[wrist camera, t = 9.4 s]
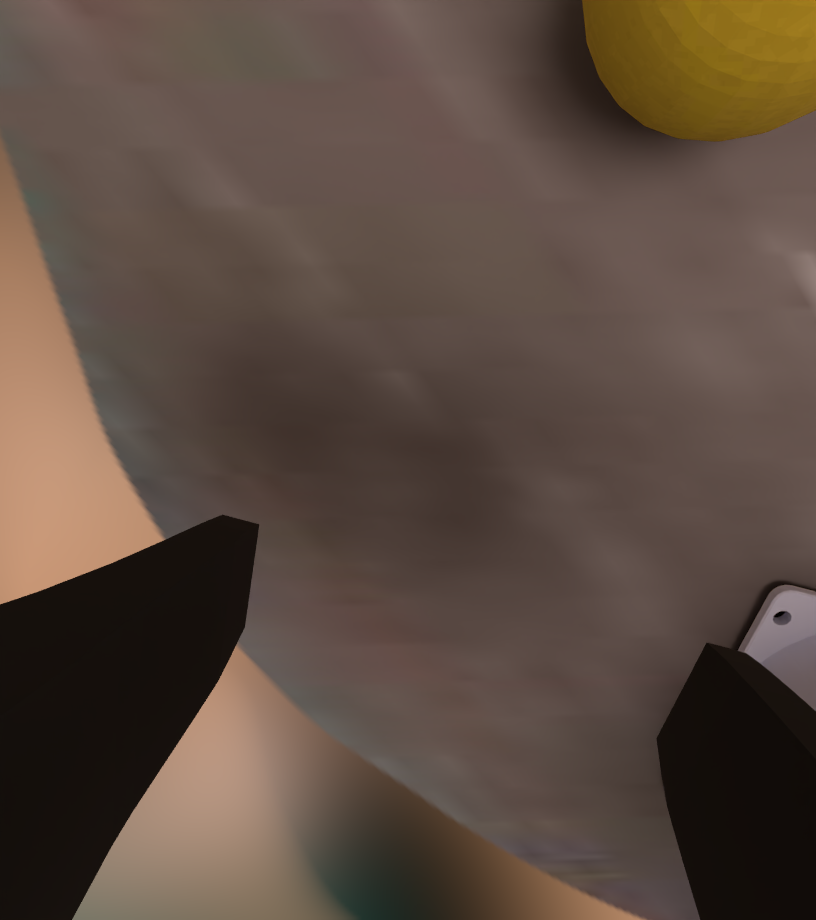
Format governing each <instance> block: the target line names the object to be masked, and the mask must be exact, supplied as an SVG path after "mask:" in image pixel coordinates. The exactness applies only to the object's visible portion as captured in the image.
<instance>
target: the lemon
mask: <svg viewBox="0 0 816 920" xmlns="http://www.w3.org/2000/svg"><path fill="white" fill-rule="evenodd" d="M582 3H583V13H584V22H585V32H586V41H587V45H588V48H589V51H590V53H591V56H592V59H593V62H594V64H595V67H596V70H597V73H598V75H599V78H600V79H601V81H602V82H603V84H604V85H605V87H606V88H607V89H608V91H609V92H610V94H611V95H612V97H613V98H614V99H615V101H616V102H617V104H618V105H619V106H620V107H621V108H622V109H624V110H625V111H626V112H628V113H629V114H630V115H631V116H633V117H634V118H635V119H636V120H638V121H639V122H640V123H641V124H643V125H644V126H646V127H648V128H651V129H654V130H656V131H659V132H662V133H664V134H667V135H669V136H672V137H675V138H678V139H689V140H701V141H714V142H715V141H724V140H730V139H735V138H741V137H746V136H752V135H757V134H762V133H765V132H769V131H771V130H773V129H775V128H777V127H780V126H782V125H784V124H786V123H789V122H791V121H793V120H795V119H798V118H800V117H802V116H804V115H806V114H809V113H811V112H813V111H815V110H816V0H582Z"/></svg>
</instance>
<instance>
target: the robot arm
mask: <svg viewBox="0 0 816 920" xmlns="http://www.w3.org/2000/svg"><path fill="white" fill-rule="evenodd" d="M258 529H259V524H256V523H252V522H248V521H244V520H240V519H237V518H233V517H229V516H225V515H221V516H218V517H216V518H213V519H211V520H208V521H206V522H204V523H201V524H199V525H197V526H195V527H192V528H190V529H188V530H186V531H184V532H181V533H179V534H177V535H175V536H173V537H170V538H168V539H166V540H164V541H162V542H159V543H157V544H155V545H153V546H150V547H148V548H146V549H143V550H141V551H139V552H137V553H134V554H132V555H130V556H128V557H125V558H123V559H121V560H118V561H116V562H114V563H111V564H109V565H106V566H104V567H101V568H98V569H96V570H93V571H91V572H88V573H86V574H83V575H80V576H78V577H75V578H73V579H70V580H67V581H65V582H62V583H60V584H57V585H55V586H52V587H50V588H47V589H44V590H42V591H39V592H36V593H33V594H30V595H27V596H24V597H21V598H19V599H15V600H12V601H10V602H7V603H3V604H0V920H72V919H73V917H74V915H75V913H76V911H77V909H78V907H79V906H80V904H81V902H82V900H83V898H84V896H85V895H86V893H87V891H88V889H89V887H90V885H91V883H92V882H93V880H94V878H95V876H96V874H97V872H98V870H99V869H100V867H101V865H102V863H103V861H104V859H105V857H106V856H107V854H108V852H109V850H110V848H111V846H112V845H113V843H114V841H115V840H116V838H117V837H118V835H119V833H120V831H121V830H122V828H123V827H124V825H125V823H126V822H127V820H128V818H129V817H130V815H131V813H132V812H133V810H134V809H135V807H136V806H137V804H138V803H139V801H140V800H141V798H142V797H143V795H144V794H145V792H146V791H147V789H148V788H149V786H150V784H151V783H152V781H153V780H154V778H155V777H156V775H157V774H158V772H159V771H160V769H161V768H162V766H163V765H164V763H165V761H166V760H167V759H168V757H169V756H170V754H171V753H172V751H173V750H174V748H175V747H176V745H177V744H178V742H179V740H180V739H181V738H182V736H183V735H184V733H185V731H186V730H187V728H188V727H189V725H190V724H191V722H192V721H193V719H194V718H195V716H196V715H197V713H198V712H199V710H200V709H201V707H202V705H203V704H204V702H205V701H206V699H207V698H208V696H209V694H210V693H211V692H212V690H213V688H214V687H215V685H216V684H217V682H218V680H219V678H220V676H221V674H222V672H223V670H224V668H225V666H226V664H227V663H228V660H229V658H230V657H231V655H232V652H233V650H234V648H235V646H236V644H237V642H238V640H239V638H240V636H241V634H242V632H243V630H244V628H245V622H246V615H247V608H248V601H249V594H250V586H251V579H252V572H253V565H254V558H255V551H256V544H257V537H258ZM780 611H785V613H784V614H783V615H782V616H780V617H778V618H777V617H773V616H774V615H775V614H776V613H777V612H780ZM657 745H658V752H659V759H660V767H661V774H662V780H663V785H664V786H663V788H664V791H665V797H666V802H667V807H668V811H669V814H670V818H671V822H672V825H673V829H674V832H675V835H676V839H677V842H678V846H679V849H680V853H681V856H682V860H683V863H684V867H685V870H686V873H687V877H688V880H689V883H690V887H691V890H692V893H693V897H694V900H695V903H696V907H697V910H698V913H699V917H700V920H816V591H812V590H808V589H804V588H800V587H796V586H793V585H782V586H778V587H776V588H775V589H773V590H772V591H771V592H770V593H769V595H768V596H767V598H766V600H765V602H764V604H763V605H762V607H761V609H760V611H759V613H758V614H757V616H756V618H755V620H754V622H753V624H752V625H751V627H750V629H749V631H748V633H747V634H746V636H745V638H744V640H743V642H742V643H741V645H740V647H739V649H738V651H737V650H733V649H729V648H725V647H722V646H718V645H714V644H710V643H706V645H705V647H704V649H703V651H702V653H701V655H700V657H699V658H698V660H697V662H696V664H695V666H694V668H693V670H692V672H691V674H690V676H689V678H688V679H687V681H686V683H685V685H684V687H683V689H682V691H681V693H680V695H679V697H678V699H677V701H676V702H675V704H674V706H673V708H672V710H671V712H670V714H669V716H668V718H667V720H666V722H665V723H664V725H663V727H662V729H661V731H660V733H659V735H658V737H657Z"/></svg>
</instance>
